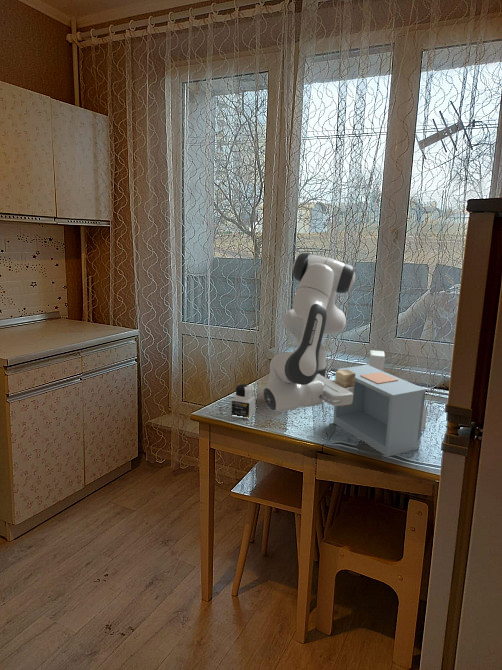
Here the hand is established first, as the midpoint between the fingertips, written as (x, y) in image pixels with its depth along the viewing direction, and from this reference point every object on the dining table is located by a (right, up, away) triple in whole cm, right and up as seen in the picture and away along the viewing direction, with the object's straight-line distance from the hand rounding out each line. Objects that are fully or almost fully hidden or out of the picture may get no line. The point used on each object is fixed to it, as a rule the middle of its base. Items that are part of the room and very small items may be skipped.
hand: (346, 385), depth 159 cm
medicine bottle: (-35, -14, +25) cm, 45 cm away
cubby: (+12, -19, +11) cm, 24 cm away
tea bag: (+30, -18, +18) cm, 39 cm away
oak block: (-1, -6, +1) cm, 6 cm away
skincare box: (+26, -6, +63) cm, 69 cm away
